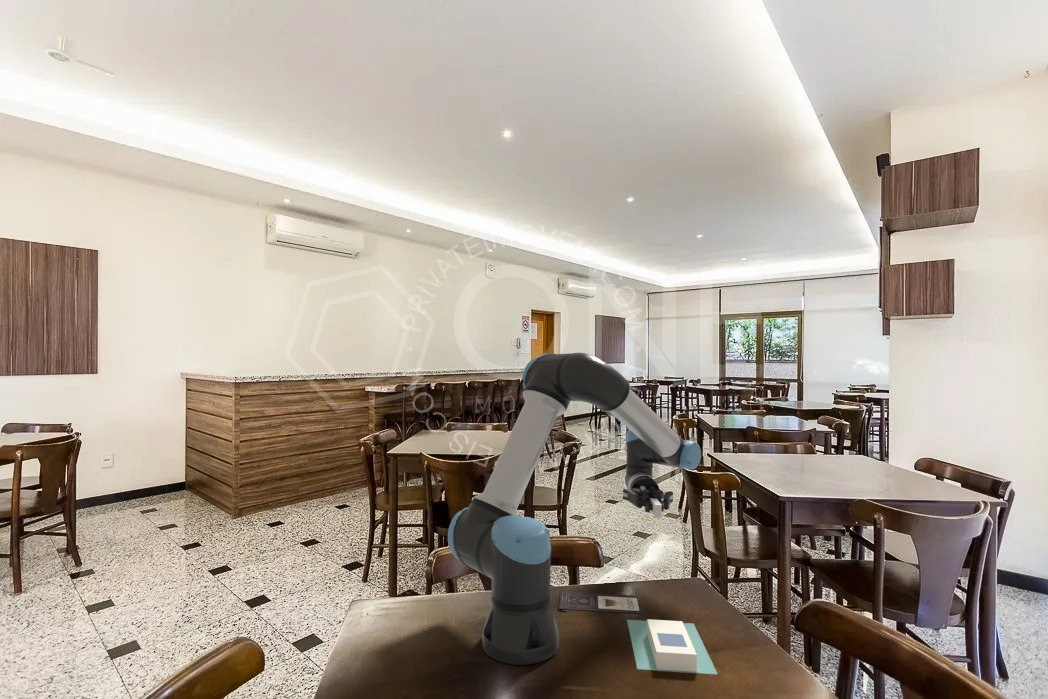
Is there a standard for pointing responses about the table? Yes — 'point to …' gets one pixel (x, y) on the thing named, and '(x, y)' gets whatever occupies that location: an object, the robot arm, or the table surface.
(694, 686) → the table surface
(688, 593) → the table surface
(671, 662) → the card box
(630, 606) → the chocolate bar
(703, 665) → the mat
